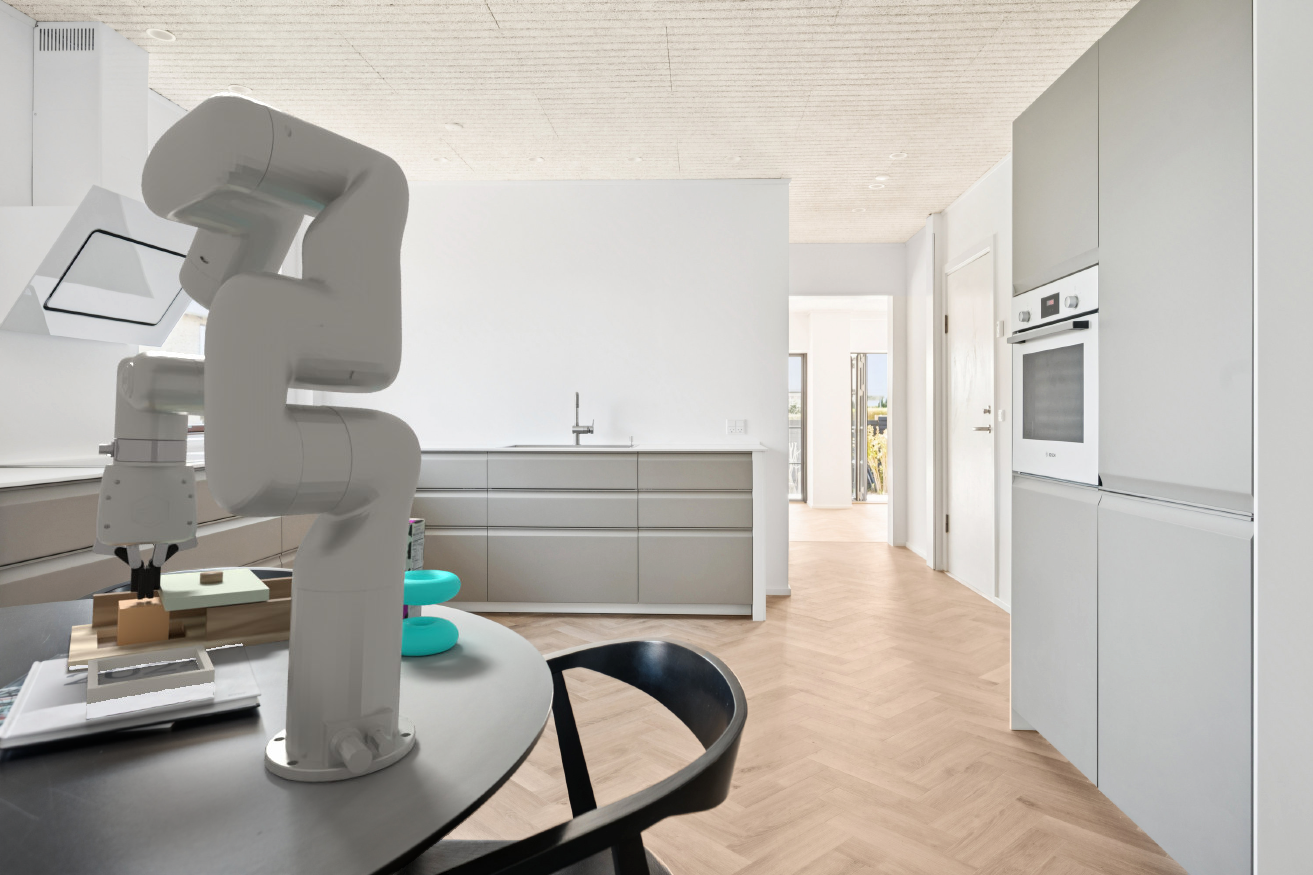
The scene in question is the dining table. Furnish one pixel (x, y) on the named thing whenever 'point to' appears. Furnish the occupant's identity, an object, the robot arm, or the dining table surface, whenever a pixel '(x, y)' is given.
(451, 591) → the donuts
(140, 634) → the block
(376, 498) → the robot arm
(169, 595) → the cover
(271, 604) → the brown wooden open box
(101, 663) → the dish
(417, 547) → the candy bar box
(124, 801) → the dining table surface
